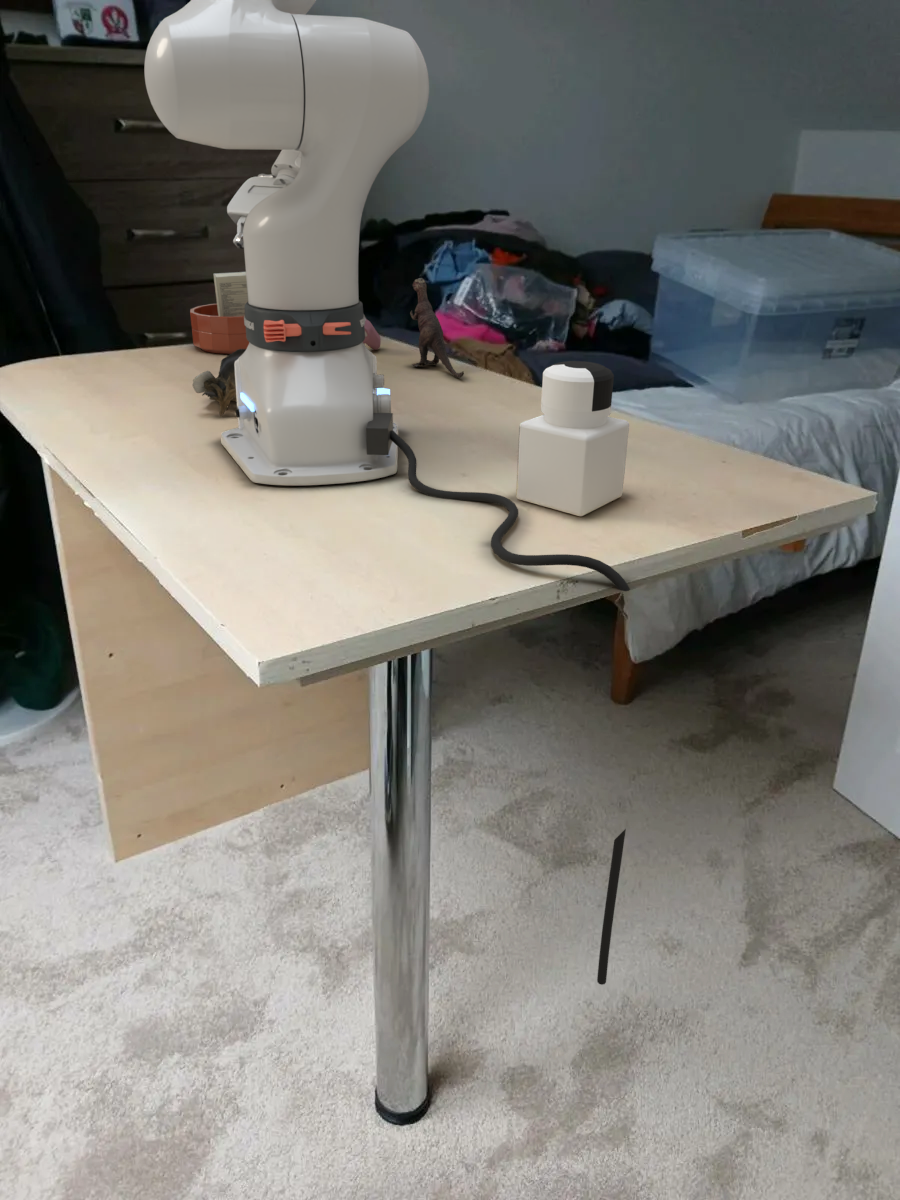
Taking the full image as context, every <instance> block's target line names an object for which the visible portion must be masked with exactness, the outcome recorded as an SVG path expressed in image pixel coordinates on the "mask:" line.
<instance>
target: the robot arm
mask: <svg viewBox="0 0 900 1200" xmlns="http://www.w3.org/2000/svg"><path fill="white" fill-rule="evenodd" d="M316 2H317V0H190V1H189V2H187V4H185V5H184V6H183V7H182V8H180V9H178V10H177V11H175V12H173V13H172V14H170V15H167V16H166V17H164V18H163V19H162V20H161V21H160V23H159V24H158V25H157V27H156V28H155V29H154V31H153V33H152V35H151V36H150V39H149V42H148V44H147V47H146V52H145V57H144V69H143V70H144V82H145V89H146V92H147V95H148V99H149V101H150V104H151V106H152V108H153V111H154V112H155V113H156V116H157V118H158V119H159V120H160V122H161V123H162V124H163V126H164V127H165V128H166V129H167V131H168V132H169V133H171V134H172V136H174V137H175V138H176V139H178V140H182V141H187V142H191V143H194V144H199V145H203V146H209V147H214V148H218V149H224V150H268V151H269V150H273V151H274V150H278V151H279V150H281V151H280V152H279V154H278V156H277V157H276V159H275V161H274V162H273V164H272V166H271V169H270V171H271V174H266V173H259V174H258V175H257V176H253V177H250V178H248V179H247V180H245V181H244V182H243V183H242V185H241V186H240V187H239V189H238V190H237V191H236V193H235V194H234V195H233V197H232V198H231V200H230V201H229V202H228V204H227V206H226V212H227V215H228V216H229V218H230V219H231V220H232V222H233V223H234V224H235V225H236V235H235V236H234V237H233V240H232V243H233V245H234V246H235V247H236V248H237V249H241V250H242V249H243V252H244V253H243V254H244V264H245V265H244V266H245V272H246V280H247V292H248V302H247V303H246V304H245V316H244V324H245V326H246V338H247V340H248V341H249V345H248V347H247V349H246V351H245V352H244V353H243V354H242V355H241V356H240V357H239V358H238V360H236V361H235V363H234V367H235V383H236V398H237V402H236V409H235V414H236V417H237V425H238V427H233V428H231V429H227V430H225V431H222V432H221V434H220V444H221V445H222V447H224V448H225V450H226V451H227V453H228V454H229V455H230V456H231V458H233V460H234V461H235V462H236V464H237V465H238V466H239V467H240V469H241V470H242V471H243V472H244V474H245V475H246V476H247V477H248V478H249V480H250V481H251V482H252V483H256V484H260V485H261V484H262V485H270V486H321V485H335V484H347V483H348V484H349V483H356V482H357V483H358V482H364V481H372V480H377V479H380V478H381V479H382V478H385V477H388V476H392V475H394V474H396V473H397V471H398V457H399V456H398V455H399V449H400V450H401V451H402V453H403V454H404V456H405V457H406V459H407V461H408V467H407V478H408V482H409V484H410V485H411V486H412V487H413V488H414V489H416V491H418V492H420V493H421V494H424V495H426V496H428V497H433V498H439V499H446V500H455V501H470V502H483V503H484V502H485V503H492V504H497V505H500V506H502V507H504V508H505V509H506V510H507V511H508V515H507V517H506V518H505V519H504V520H503V522H502V523H500V525H498V527H497V528H496V529H495V531H494V532H493V534H492V536H491V539H490V547H491V549H492V551H493V553H494V554H495V556H497V557H498V558H499V559H501V560H502V561H504V562H506V563H508V564H513V565H517V566H526V567H528V566H529V567H534V566H535V567H539V566H540V567H541V566H575V567H582V568H587V569H591V570H593V571H595V572H597V573H598V574H599V573H600V574H601V575H603V576H604V577H606V578H607V579H608V580H609V581H610V582H612V584H613V585H614V586H615V587H616V589H617V590H619V591H621V592H629V591H630V590H631V589H630V587H629V585H628V583H627V582H626V580H625V578H623V576H622V575H621V574H620V573H618V571H616V570H615V569H614V568H613V567H612V566H610V565H608V564H607V563H606V562H604V561H601V560H599V559H596V558H593V557H590V556H586V555H579V554H568V553H567V554H566V553H565V554H564V553H563V554H558V553H557V554H518V553H513V552H511V551H509V550H508V549H506V548H505V547H504V546H503V545H502V540H503V538H504V537H505V535H506V534H507V533H508V532H509V530H511V528H512V527H513V526H514V524H515V523H516V522H517V519H518V518H519V508H518V506H517V505H516V503H515V502H513V501H512V500H511V499H509V497H508V498H507V497H505V496H503V495H500V494H496V493H490V492H479V491H477V492H475V491H473V492H472V491H451V490H443V489H437V488H433V487H430V486H428V485H426V484H424V483H423V482H422V481H421V480H419V478H418V477H417V469H418V464H417V456H416V455H415V452H414V451H413V449H412V447H410V445H409V444H408V443H407V442H406V441H405V440H404V439H403V438H402V437H400V435H399V427H398V424H397V423H395V422H394V416H393V415H394V413H393V412H392V395H391V389H390V388H385V376H384V374H378V369H377V368H378V366H377V364H378V363H377V356H376V355H375V354H373V352H372V351H370V350H369V349H368V348H367V347H366V344H365V343H364V344H363V341H364V340H365V328H364V325H365V318H366V315H365V314H364V304H363V302H362V301H361V300H360V299H359V297H360V296H359V253H360V250H359V248H360V232H361V223H362V217H363V212H364V208H365V205H366V202H367V199H368V196H369V193H370V191H371V189H372V186H373V183H374V182H375V180H376V178H377V176H378V175H379V173H380V171H381V170H382V168H383V167H384V165H385V164H386V163H387V161H388V160H389V159H390V158H391V157H392V156H393V155H394V153H396V151H398V150H399V148H401V147H402V146H403V145H404V144H406V143H407V142H408V141H409V140H410V139H411V138H412V137H413V136H414V134H415V133H416V132H417V130H418V129H419V127H420V125H421V123H422V121H423V120H424V117H425V114H426V111H427V107H428V104H429V97H430V78H429V77H430V76H429V71H428V67H427V63H426V60H425V57H424V55H423V52H422V51H421V49H420V47H419V45H418V43H417V42H416V40H415V39H414V38H413V36H412V35H411V34H410V33H409V32H408V31H406V30H404V29H402V28H398V27H396V26H391V25H388V24H385V23H382V22H379V21H375V20H371V19H368V18H364V17H359V16H358V17H357V16H356V17H355V16H338V15H319V14H308V12H309V11H310V10H311V9H312V7H313V6H314V5H315V3H316ZM626 830H627V829H626V828H624V829H623V831H622V832H621V833H620V834H618V836H616V837H615V838H614V840H613V847H612V855H611V861H610V868H609V876H608V884H607V890H606V897H605V905H604V912H603V913H604V914H603V919H602V920H603V921H602V928H601V929H602V930H601V937H600V946H599V955H598V967H597V968H598V969H597V977H596V981H597V983H598V984H599V985H601V986H603V985H605V984H606V983H607V977H608V976H607V975H608V967H609V955H610V948H611V940H612V931H613V923H614V915H615V908H616V901H617V894H618V886H619V880H620V873H621V866H622V859H623V852H624V847H625V846H624V845H625V839H626Z"/></svg>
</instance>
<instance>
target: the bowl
mask: <svg viewBox="0 0 900 1200" xmlns="http://www.w3.org/2000/svg"><path fill="white" fill-rule="evenodd" d="M189 314H190V325H191V333H192V343H193V346H195V347H197V348H199V349H200V350H202V351H205V352H208V353H213V354H225V355H227V354H228V355H230V354H232V353H233V352H235V351H236V350H239V349H247V347H248V345H249V341H248V340H247V338H246V326H245V324H244V316H218V309H217V303H208V304H203V305H197V306H195V307H192V308H190V309H189Z"/></svg>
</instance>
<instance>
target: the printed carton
mask: <svg viewBox="0 0 900 1200" xmlns="http://www.w3.org/2000/svg"><path fill="white" fill-rule="evenodd" d="M213 282H214V290H215V299H216V304H217V309H218V316H245V304H246V303H247V302H248V292H247V280H246V271H239V272H238V271H236V272H235V271H234V272H219V273H216V272H215V273H213Z"/></svg>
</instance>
